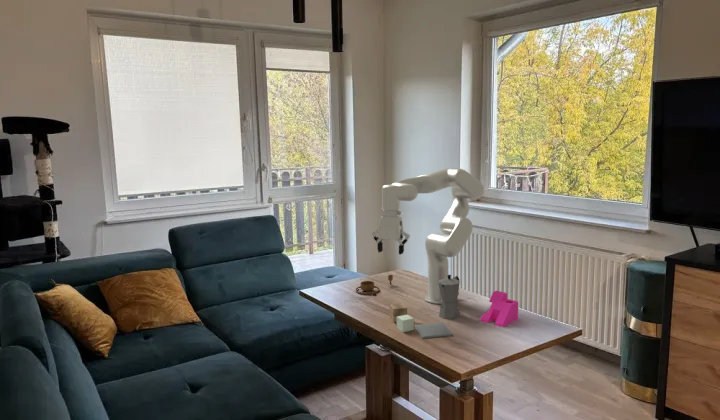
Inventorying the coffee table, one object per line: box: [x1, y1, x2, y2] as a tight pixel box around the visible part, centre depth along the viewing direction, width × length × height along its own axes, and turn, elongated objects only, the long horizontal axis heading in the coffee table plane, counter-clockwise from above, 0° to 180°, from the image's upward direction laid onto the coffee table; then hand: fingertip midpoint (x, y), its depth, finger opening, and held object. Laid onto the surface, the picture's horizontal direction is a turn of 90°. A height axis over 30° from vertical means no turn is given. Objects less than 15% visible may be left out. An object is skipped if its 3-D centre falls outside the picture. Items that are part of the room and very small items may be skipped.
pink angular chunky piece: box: [480, 290, 519, 328], centre depth 216 cm, size 12×10×10 cm
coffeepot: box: [438, 274, 461, 320], centre depth 224 cm, size 15×9×18 cm, turn 144°
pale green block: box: [396, 314, 415, 333], centre depth 210 cm, size 5×5×5 cm
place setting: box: [355, 274, 394, 296], centre depth 262 cm, size 18×20×6 cm
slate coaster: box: [414, 322, 453, 339], centre depth 207 cm, size 12×12×1 cm
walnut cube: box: [389, 302, 408, 323], centre depth 221 cm, size 6×6×6 cm
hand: (390, 252), depth 226 cm, fingers open, 9 cm apart
